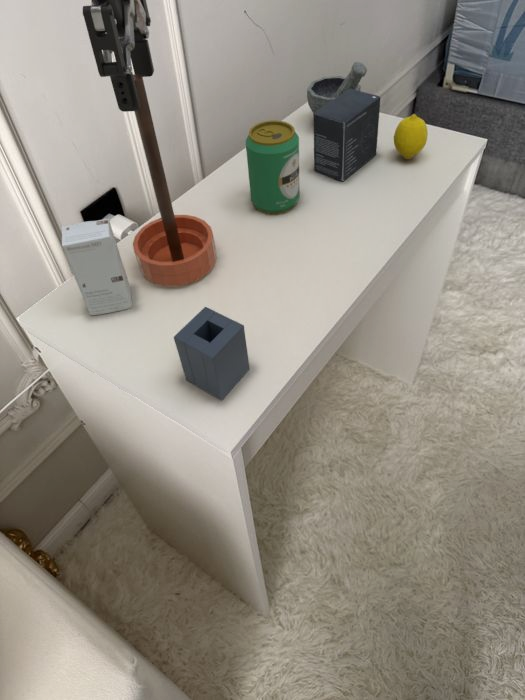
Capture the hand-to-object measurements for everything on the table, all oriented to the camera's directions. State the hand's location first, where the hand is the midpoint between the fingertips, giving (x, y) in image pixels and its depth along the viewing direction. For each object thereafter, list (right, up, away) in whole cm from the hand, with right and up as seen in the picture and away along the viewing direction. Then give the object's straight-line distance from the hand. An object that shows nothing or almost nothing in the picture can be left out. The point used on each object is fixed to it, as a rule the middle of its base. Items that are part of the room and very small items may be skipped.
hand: (138, 92), depth 59 cm
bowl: (+2, -16, +19) cm, 25 cm away
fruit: (+40, +5, +34) cm, 52 cm away
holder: (+9, -32, +5) cm, 34 cm away
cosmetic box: (-7, -22, +15) cm, 28 cm away
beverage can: (+16, -5, +28) cm, 32 cm away
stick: (+2, -16, +19) cm, 24 cm away
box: (+29, +4, +34) cm, 45 cm away
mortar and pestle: (+28, +15, +43) cm, 53 cm away
